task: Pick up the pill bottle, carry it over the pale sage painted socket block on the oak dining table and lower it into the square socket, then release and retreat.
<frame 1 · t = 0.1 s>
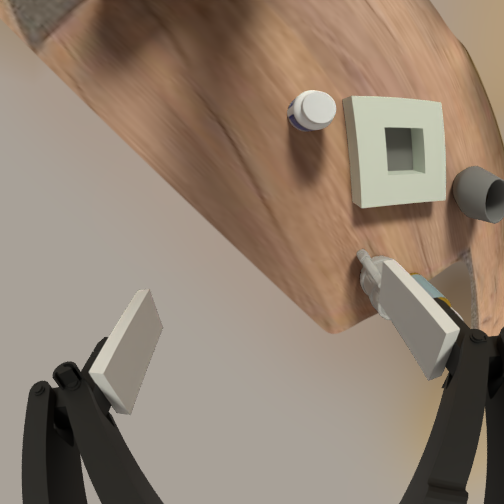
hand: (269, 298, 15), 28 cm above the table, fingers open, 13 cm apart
cup: (461, 187, 40), on the table
mug: (371, 265, 45), on the table
pill bottle: (304, 114, 36), on the table
bottle: (408, 287, 47), on the table
socket block: (393, 149, 37), on the table
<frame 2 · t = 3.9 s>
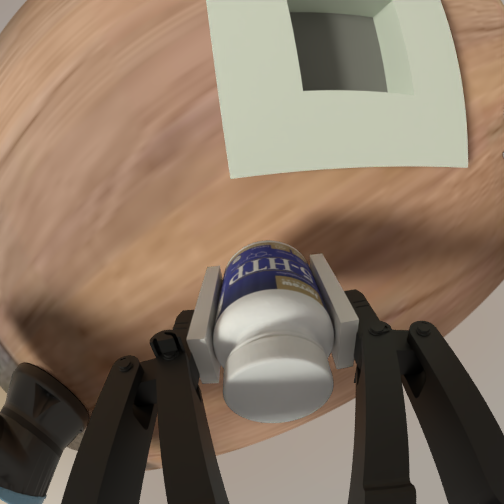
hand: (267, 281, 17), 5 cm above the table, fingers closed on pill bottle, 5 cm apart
pill bottle: (266, 277, 17), point 4 cm above the table, touching gripper
socket block: (335, 53, 15), on the table
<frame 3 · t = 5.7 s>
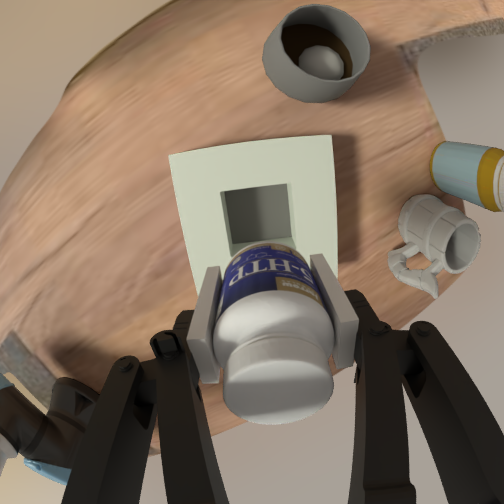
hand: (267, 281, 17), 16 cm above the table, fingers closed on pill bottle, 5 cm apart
cup: (303, 69, 25), on the table
mug: (408, 229, 33), on the table
pill bottle: (266, 278, 17), point 16 cm above the table, touching gripper
bottle: (444, 166, 29), on the table
socket block: (258, 211, 32), on the table
when the fingers open (5 cm above the table, at t = 8.7 s): pill bottle drops 4 cm, resting on socket block.
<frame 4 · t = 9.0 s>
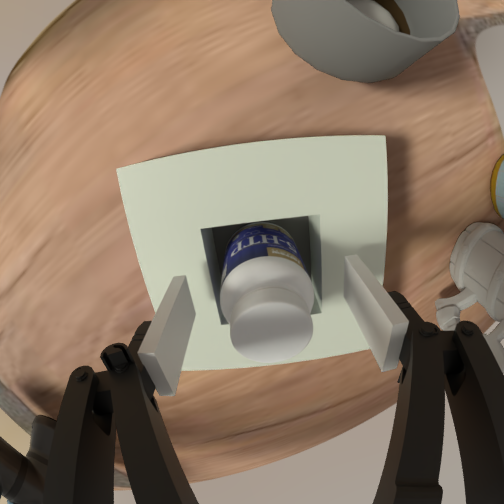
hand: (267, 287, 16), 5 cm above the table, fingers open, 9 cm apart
cup: (332, 35, 15), on the table
mug: (459, 266, 22), on the table
pill bottle: (260, 252, 21), resting on socket block
socket block: (263, 250, 21), on the table
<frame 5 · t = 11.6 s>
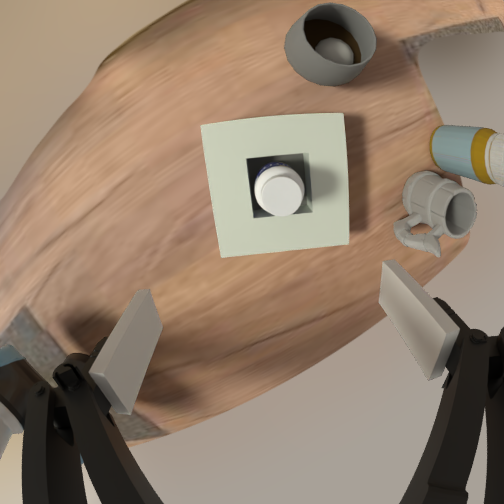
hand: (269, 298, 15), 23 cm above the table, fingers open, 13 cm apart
cup: (317, 58, 28), on the table
mug: (411, 203, 35), on the table
pill bottle: (275, 181, 34), resting on socket block
bottle: (443, 147, 32), on the table
socket block: (277, 180, 34), on the table
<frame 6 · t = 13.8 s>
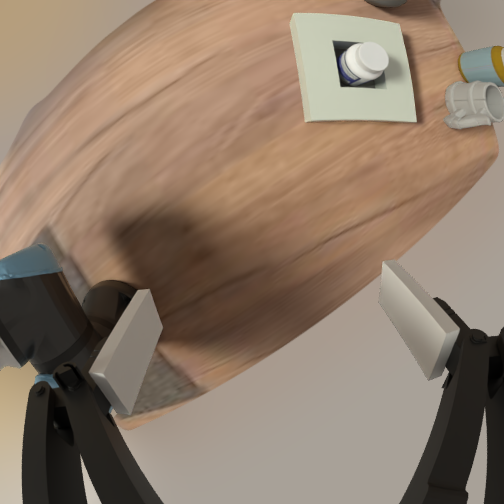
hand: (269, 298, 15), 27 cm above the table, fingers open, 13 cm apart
mug: (452, 108, 33), on the table
pill bottle: (349, 70, 32), resting on socket block
bottle: (468, 70, 29), on the table
socket block: (350, 70, 32), on the table
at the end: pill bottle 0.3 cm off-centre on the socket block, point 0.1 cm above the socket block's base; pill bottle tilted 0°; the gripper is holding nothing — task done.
